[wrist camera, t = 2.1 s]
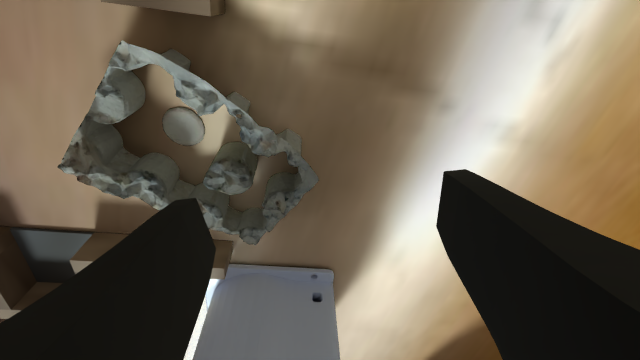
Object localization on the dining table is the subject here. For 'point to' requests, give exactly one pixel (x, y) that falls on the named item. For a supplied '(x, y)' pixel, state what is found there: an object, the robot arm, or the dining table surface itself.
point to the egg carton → (187, 129)
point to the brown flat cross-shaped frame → (75, 246)
